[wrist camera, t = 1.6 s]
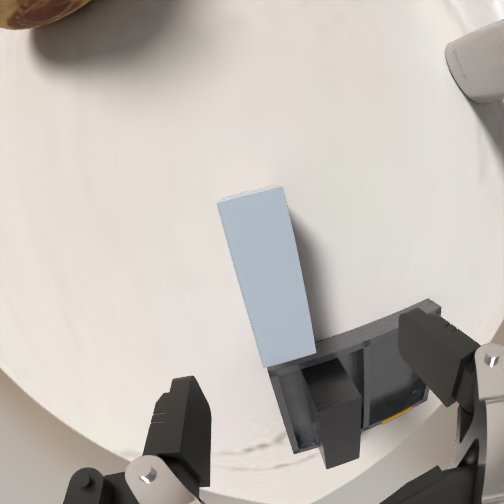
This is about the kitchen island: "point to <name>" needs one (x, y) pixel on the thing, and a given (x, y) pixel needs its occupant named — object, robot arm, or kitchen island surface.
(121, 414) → the kitchen island surface
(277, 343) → the panel
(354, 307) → the kitchen island surface
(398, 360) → the dark grey tray
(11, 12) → the clay pot
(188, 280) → the kitchen island surface
